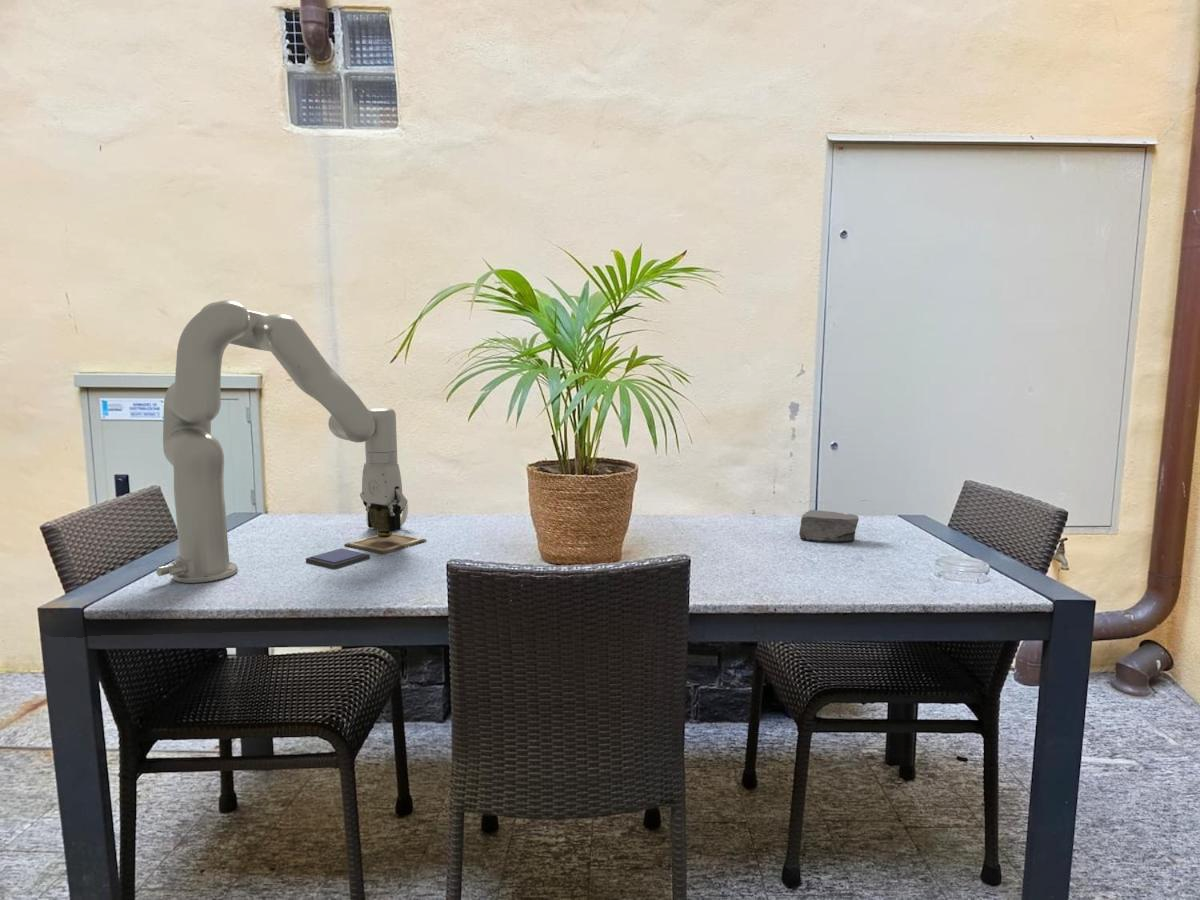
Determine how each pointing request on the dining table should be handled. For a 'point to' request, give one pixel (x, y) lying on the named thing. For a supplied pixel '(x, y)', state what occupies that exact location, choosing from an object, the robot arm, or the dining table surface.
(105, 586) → the dining table surface
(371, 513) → the cup
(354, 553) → the ink pad
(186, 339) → the robot arm
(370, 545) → the marked board
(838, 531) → the decorative stone
